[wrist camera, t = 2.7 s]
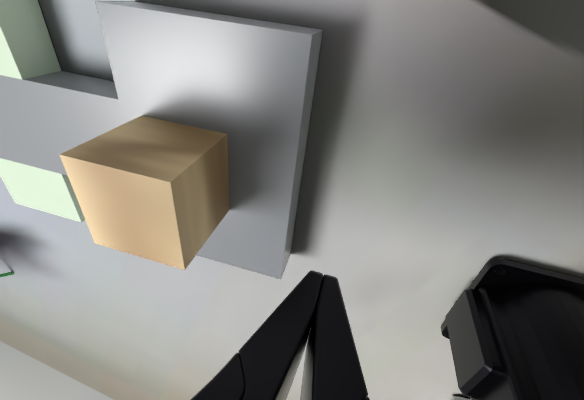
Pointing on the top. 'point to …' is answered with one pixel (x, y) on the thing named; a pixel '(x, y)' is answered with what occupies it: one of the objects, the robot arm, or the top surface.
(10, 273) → the lily
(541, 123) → the top surface
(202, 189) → the maple block
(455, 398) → the skincare box
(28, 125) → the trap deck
